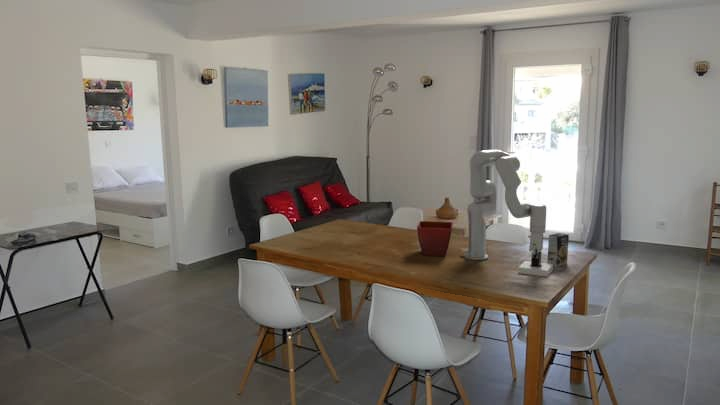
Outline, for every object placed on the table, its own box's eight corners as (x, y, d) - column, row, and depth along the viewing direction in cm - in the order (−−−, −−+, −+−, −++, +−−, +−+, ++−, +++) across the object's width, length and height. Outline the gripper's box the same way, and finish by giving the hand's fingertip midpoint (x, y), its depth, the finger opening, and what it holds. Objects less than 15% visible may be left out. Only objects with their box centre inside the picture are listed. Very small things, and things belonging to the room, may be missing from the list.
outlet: (518, 272, 278) (518, 267, 278) (524, 266, 290) (525, 260, 290) (547, 276, 271) (547, 270, 271) (552, 269, 283) (553, 264, 283)
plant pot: (450, 258, 308) (451, 228, 306) (416, 256, 312) (416, 227, 309) (452, 250, 327) (452, 222, 324) (419, 248, 330) (420, 221, 328)
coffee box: (557, 267, 289) (559, 236, 286) (546, 264, 294) (548, 234, 291) (567, 264, 294) (569, 234, 291) (557, 262, 299) (558, 232, 297)
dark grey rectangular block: (531, 268, 280) (531, 252, 279) (532, 266, 283) (533, 250, 282) (539, 269, 278) (539, 253, 277) (540, 267, 281) (541, 251, 280)
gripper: (533, 225, 287) (532, 260, 289) (525, 231, 272) (524, 267, 275) (548, 226, 283) (547, 261, 286) (541, 232, 269) (540, 269, 271)
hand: (535, 264), depth 280 cm, fingers closed on dark grey rectangular block, 4 cm apart
